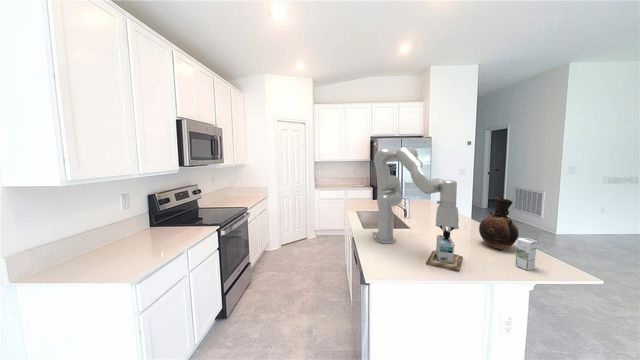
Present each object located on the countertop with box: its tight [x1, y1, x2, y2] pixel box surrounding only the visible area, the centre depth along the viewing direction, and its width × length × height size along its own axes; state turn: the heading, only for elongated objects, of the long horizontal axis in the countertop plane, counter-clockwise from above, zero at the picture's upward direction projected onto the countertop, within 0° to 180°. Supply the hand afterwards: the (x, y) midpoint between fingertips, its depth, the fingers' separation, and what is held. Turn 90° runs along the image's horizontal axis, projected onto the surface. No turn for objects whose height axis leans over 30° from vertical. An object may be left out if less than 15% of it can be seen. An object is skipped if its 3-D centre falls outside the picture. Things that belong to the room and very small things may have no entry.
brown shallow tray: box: [425, 249, 464, 273], centre depth 131 cm, size 15×18×2 cm
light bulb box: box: [435, 234, 455, 264], centre depth 130 cm, size 11×7×11 cm, turn 164°
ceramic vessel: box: [478, 197, 519, 250], centre depth 148 cm, size 21×18×30 cm
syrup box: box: [514, 237, 538, 272], centre depth 122 cm, size 6×6×14 cm
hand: (446, 238), depth 129 cm, fingers closed
